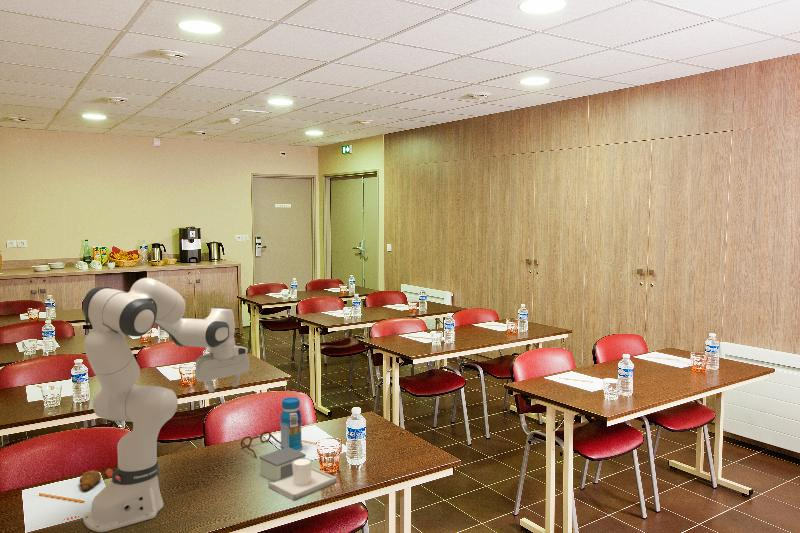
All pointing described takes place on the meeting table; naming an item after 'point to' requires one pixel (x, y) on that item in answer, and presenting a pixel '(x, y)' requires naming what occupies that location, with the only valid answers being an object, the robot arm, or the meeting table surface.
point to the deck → (291, 474)
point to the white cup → (302, 471)
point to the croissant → (89, 480)
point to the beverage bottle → (291, 424)
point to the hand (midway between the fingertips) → (223, 389)
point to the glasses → (260, 440)
